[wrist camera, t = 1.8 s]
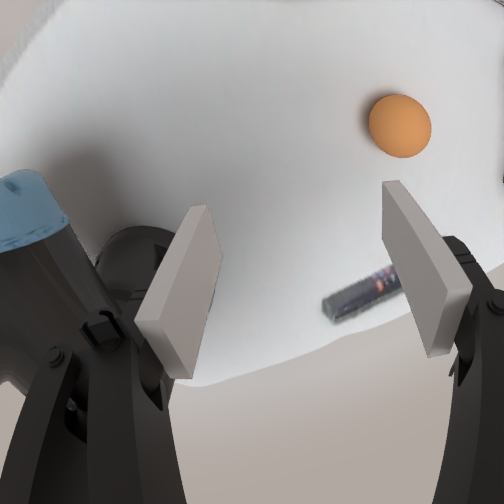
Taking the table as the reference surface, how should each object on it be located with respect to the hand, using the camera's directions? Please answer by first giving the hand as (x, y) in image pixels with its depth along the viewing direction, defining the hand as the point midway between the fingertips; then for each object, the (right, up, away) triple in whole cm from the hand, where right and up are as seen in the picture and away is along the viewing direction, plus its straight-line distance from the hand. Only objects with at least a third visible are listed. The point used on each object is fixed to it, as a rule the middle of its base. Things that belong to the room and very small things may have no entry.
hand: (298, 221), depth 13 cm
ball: (+11, +9, +10) cm, 17 cm away
